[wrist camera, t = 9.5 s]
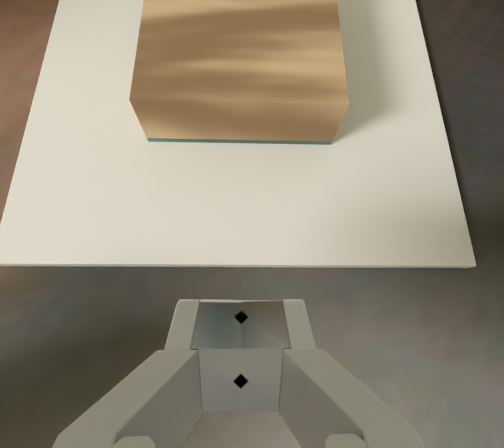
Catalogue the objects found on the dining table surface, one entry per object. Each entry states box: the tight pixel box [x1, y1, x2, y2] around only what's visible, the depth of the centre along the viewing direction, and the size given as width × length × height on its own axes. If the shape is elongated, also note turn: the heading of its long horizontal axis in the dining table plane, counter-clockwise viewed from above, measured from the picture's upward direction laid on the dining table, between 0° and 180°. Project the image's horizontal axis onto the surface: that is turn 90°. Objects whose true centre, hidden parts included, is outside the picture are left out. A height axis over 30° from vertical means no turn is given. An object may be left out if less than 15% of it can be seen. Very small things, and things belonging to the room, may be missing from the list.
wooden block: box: [129, 0, 349, 145], centre depth 23 cm, size 4×12×14 cm
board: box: [0, 0, 476, 268], centre depth 24 cm, size 26×28×1 cm
